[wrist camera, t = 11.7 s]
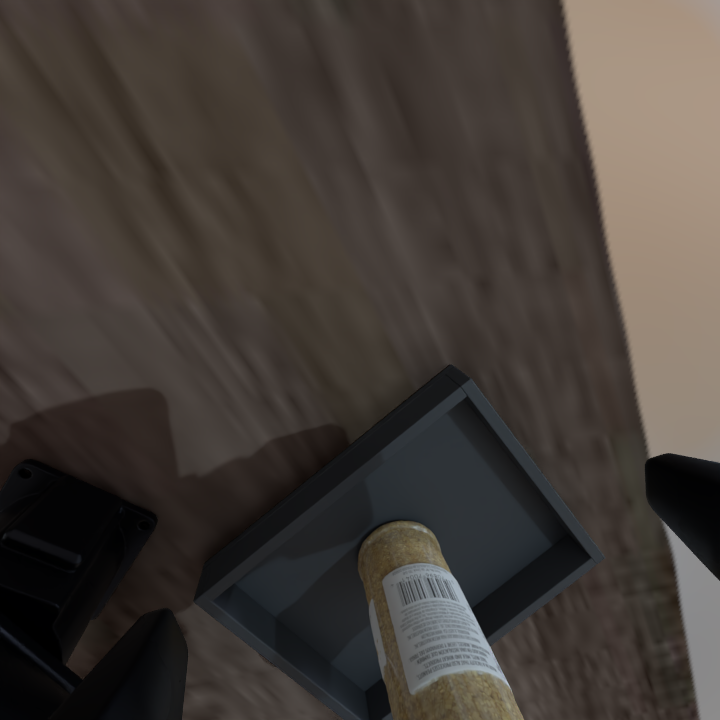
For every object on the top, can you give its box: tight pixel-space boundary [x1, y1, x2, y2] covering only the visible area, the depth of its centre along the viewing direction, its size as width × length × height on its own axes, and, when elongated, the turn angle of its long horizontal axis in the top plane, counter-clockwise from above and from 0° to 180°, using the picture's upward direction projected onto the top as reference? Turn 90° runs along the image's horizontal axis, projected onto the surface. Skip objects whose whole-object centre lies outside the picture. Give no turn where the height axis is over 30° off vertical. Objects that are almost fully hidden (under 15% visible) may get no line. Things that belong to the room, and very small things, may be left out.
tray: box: [194, 365, 605, 720], centre depth 22 cm, size 16×13×2 cm
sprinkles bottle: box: [358, 520, 524, 720], centre depth 16 cm, size 5×5×13 cm
